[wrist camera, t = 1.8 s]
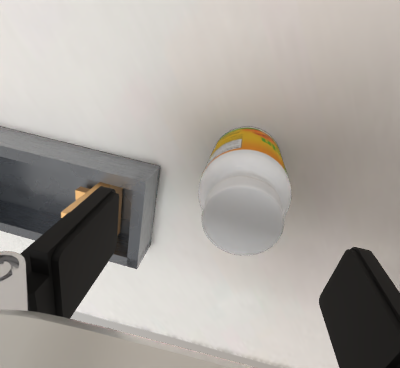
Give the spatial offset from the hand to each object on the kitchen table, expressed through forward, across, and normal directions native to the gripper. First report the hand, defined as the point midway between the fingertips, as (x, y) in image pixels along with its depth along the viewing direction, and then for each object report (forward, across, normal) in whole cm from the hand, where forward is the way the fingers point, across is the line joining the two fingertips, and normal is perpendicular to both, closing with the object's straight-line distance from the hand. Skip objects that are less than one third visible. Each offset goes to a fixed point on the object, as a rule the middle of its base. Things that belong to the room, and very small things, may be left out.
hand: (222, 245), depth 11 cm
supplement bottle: (+12, -1, 0) cm, 12 cm away
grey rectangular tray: (+12, +15, +7) cm, 21 cm away
